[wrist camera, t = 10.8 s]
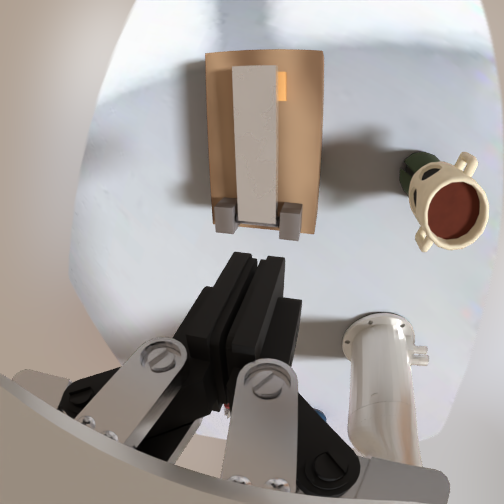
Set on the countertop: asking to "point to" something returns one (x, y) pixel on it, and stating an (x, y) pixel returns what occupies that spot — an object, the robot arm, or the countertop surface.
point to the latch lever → (256, 143)
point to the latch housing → (289, 136)
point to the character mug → (445, 200)
